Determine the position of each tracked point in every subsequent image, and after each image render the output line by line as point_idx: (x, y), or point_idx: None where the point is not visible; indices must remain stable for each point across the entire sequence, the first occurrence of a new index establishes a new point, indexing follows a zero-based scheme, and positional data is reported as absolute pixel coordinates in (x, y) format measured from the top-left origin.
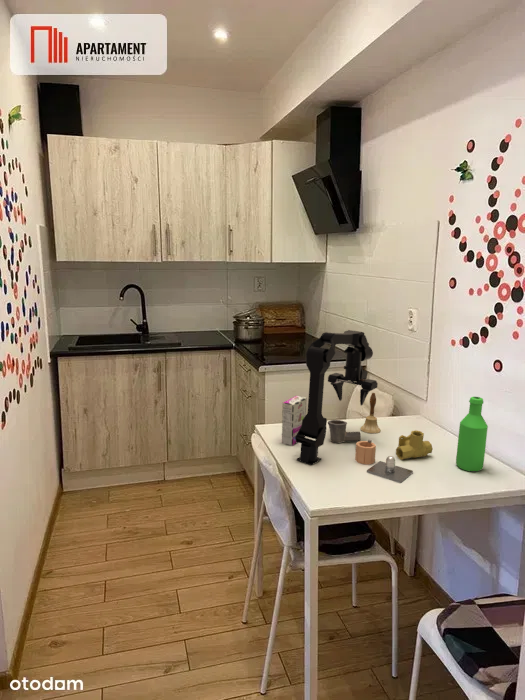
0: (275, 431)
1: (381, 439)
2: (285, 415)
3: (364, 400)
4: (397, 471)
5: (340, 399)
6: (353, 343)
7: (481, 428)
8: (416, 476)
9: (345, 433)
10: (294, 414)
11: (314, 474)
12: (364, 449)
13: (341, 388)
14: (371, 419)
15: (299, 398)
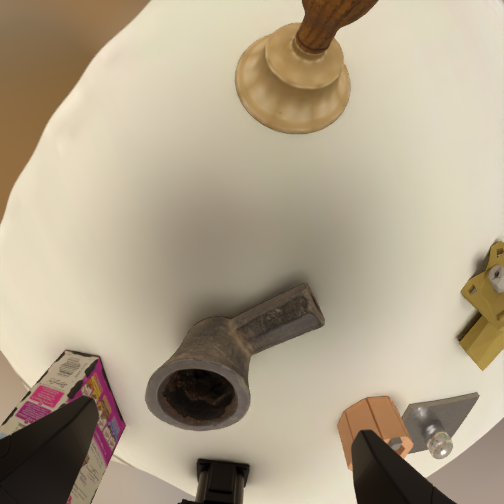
0: (19, 344)
1: (390, 188)
2: None
3: (402, 464)
4: (447, 422)
5: (93, 423)
6: None
7: None
8: (479, 399)
9: (249, 358)
10: (88, 500)
11: (271, 499)
12: None
13: (17, 489)
14: (320, 85)
15: None
